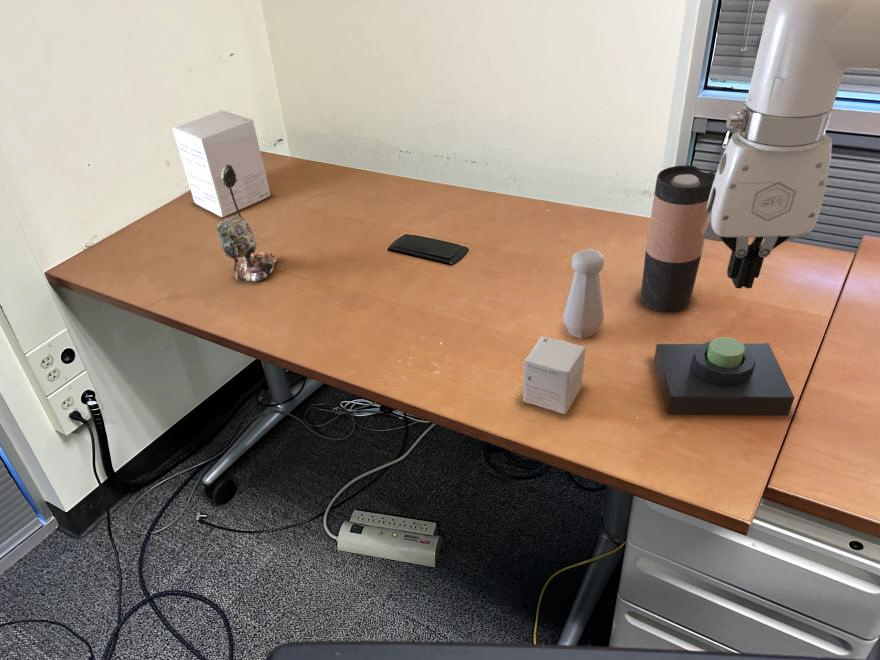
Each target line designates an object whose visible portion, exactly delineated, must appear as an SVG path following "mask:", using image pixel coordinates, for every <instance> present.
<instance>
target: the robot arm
mask: <svg viewBox="0 0 880 660" xmlns="http://www.w3.org/2000/svg"><path fill="white" fill-rule="evenodd" d="M767 7H768V8H767V11H766V15H765V20H764V24H763V29H762V33H761V37H760V42H759V47H758V50H757V55H756V59H755V64H754V67H753V70H752V71H753V72H752V76H751V80H750V83H749V84H750V85H749V89H748V93H747V97H746V102H745V103H743V104H742V109H741V110H740V112H737V113H736V114H728V115H727V118H726V124H725V125H726V129H728V130H729V129H734V130H735V131H736V130H738V131H737V132H733V134H731V137H730V139H729V141H728V143H727V145H726V147H725V150H724V152H723V153H722V156H721V159H720V162H719V164H718V167H717V170H716V173H715V175H716V176H715V179H714V182H713V185H712V188H711V192H710V196H709V200H708V204H707V210H706V214H707V219H706V221H705V223H704V225H703V227H702V229H701V233H702V235H703V237H704V238H705V240H708V241H715V242H722V243H723V244H725V245H726V247H727V248H728V249H729V250H730V251H731V254H730V258H729V261H728V265H727V270H726V274H727V277H728V278H729V279H730V280H731V282H732V284H733V285H734V287H735V289H742V288H745V289H752V288H753V284H754V282H755V279H757V278H759V276H760V273H761V269H762V267H763V263H764V260H765V258H767V257H769V256H770V255H771V253H772V251H773V250H774V249H776V248H777V247H778V246H780V245H782V244H783V243H784V242H786V241H787V240H788V241H790V240H796V239H800V238H804V237H807V236H808V235H809V234H810V232H812V231H813V229H814V228H815V226H816V225H817V222H818V220H819V216H820V214H821V213H820V212H821V211H822V205H823V202H824V198H825V193H826V189H827V184H828V178H829V173H830V166H831V160H832V151H833V150H832V149H833V139H832V138H831V137H830V136H829V135H827V134H826V131H827V127H828V125H829V121H830V118H831V114H832V112H833V110H834V109H833V108H834V105H835V101H836V98H837V95H838V92H839V89H840V85H841V84H842V83H841V82H842V79H843V76H844V73H845V71H847V70H870V71H880V0H770V1H769V4H768V6H767ZM750 238H752V241H751V243H750V244H749V240H750Z"/></svg>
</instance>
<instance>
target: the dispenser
mask: <svg viewBox="0 0 880 660" xmlns="http://www.w3.org/2000/svg"><path fill="white" fill-rule="evenodd" d="M711 341H712V340H709V341H706V342H704V343H657V344H656V345H655V350H654V351H655V352H654V357H653V364H654V367H655V373H656V376H657V380H658V383H659V387H660V392H661V395H662V398H663V399H662V400H663V403H664V406H665V410H666V415H707V416H709V415H710V416H711V415H713V416H785V417H786V416H787V417H788V416H789V414H790V412H791V409H792V406H793V403H794V400H795V399H796V398H795V395H794V393H793V391H792V389H791V387H790V385H789V383H788V380H787V379H786V376H785V375H784V372H783V370H782V369H781V366H780V363H779V362H778V360H777V358H776V356H775V353H774V351H773V349H772V347H771V345H770V343H769V342H761V343H760V342H758V343H757V342H755V343H751V342H749V343H748V342H747V343H745V342H743V343H742V342H741V343H742V344H743V345H744V347H745V351H744V355H743V358H742V362H741V364H740V365H739V366H738V367H735V368H722V367H719V366H715V365H713V364H711V363H710V362H708V360H707V353H708V349H709V345H710V342H711Z"/></svg>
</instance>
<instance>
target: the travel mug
mask: <svg viewBox="0 0 880 660" xmlns="http://www.w3.org/2000/svg"><path fill="white" fill-rule="evenodd" d="M715 176H716V173H715V172H714V171H710V172H704V171H702V170H700V169H699V168H698V167H697V166H695V165H674V166H669V167H667V168H665V169H662V170H661V171H659V172H658V174H657V177H656V180H655V181H656V182H655V188H654V195H653V201H652V208H651V213H650V220H649V226H648V233H647V234H648V235H647V239H646V244H645V254H644V261H643V271H642V280H641V291H640V300H641V302H642V304H643V305H644V306H645V307H647V308H648V309H650V310H653V311H657V312H661V313H674V312H680V311H682V310H684V309H686V308H687V307H689V305H690V302H691V300H692V295H693V292H694V288H695V284H696V279H697V275H698V270H699V267H700V263H701V258H702V254H703V249H704V245H705V240H706V239H705V238H704V237H703V235H702V233H701V229H702V227H703V225H704V223H705V221H706V219H707V214H706V210H707V204H708V200H709V196H710V192H711V188H712V185H713V182H714V179H715Z"/></svg>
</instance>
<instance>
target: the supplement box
mask: <svg viewBox="0 0 880 660" xmlns="http://www.w3.org/2000/svg"><path fill="white" fill-rule="evenodd" d="M172 132H173V135H174V138H175V142H176V146H177V148H178V151H179V156H180V159H181V162H182V165H183V168H184V173H185V175H186V178H187V182H188V185H189V189H190V191H191V196H192V199H193V201H194V204H196V205H198V206H200V207H201V208H203V209H205V210H207V211H209V212H211V213H212V214H215V215H217V216H218V217H221V218H225V217H227V216H229V215H231V214H234V213H237V210H236V207H235V205H234V201H233V199H232V196H231V193H230V189H229V188H227V187H226V186H225V185H224V183H223V181H222V178H221V173H222V171H223V169H224V167H225V166H226V165H231V166H232V168H233V170H234V171H235V174H236V180H237V182H235V185H234V186H233V187H231V188H232V192H233V196H234V199H235V202H236V204H237V208H238V210H239V211H241V210H243V209H245V208H247V207H249V206H252V205H254V204H256V203H258V202H260V201H263V200H266V199H268V198H269V197H271V191H270V187H269V181H268V179H267V174H266V170H265V166H264V165H265V164H264V162H263V157H262V152H261V149H260V143H259V140H258V136H257V132H256V128H255V122H254V119H252V118H249V117H245V116H242V115H239V114H236V113H232V112H229V111H226V110H218V111H216V112H213V113H211V114H208V115H205V116H203V117H200V118H198V119H197V118H196V119H195V120H192V121H188V122H186V123H184V124H180V125H178V126H174V127H172Z"/></svg>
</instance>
